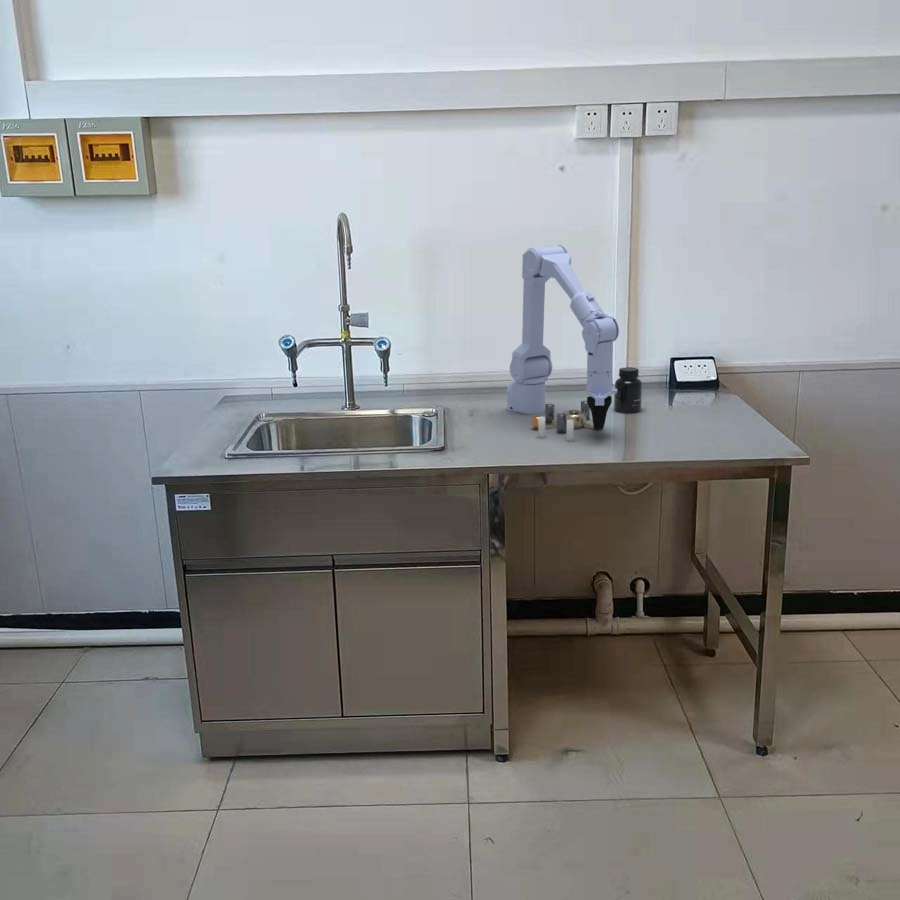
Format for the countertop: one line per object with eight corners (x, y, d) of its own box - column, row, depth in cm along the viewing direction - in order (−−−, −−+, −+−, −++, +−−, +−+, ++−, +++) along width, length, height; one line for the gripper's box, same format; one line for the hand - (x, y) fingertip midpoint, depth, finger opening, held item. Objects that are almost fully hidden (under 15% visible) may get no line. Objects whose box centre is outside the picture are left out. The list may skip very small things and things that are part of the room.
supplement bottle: (641, 418, 223) (642, 372, 219) (613, 418, 224) (614, 371, 220) (640, 411, 229) (642, 366, 225) (614, 410, 230) (615, 365, 227)
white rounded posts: (537, 438, 206) (537, 417, 205) (548, 431, 211) (549, 411, 209) (570, 443, 202) (570, 422, 200) (581, 436, 206) (582, 416, 205)
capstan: (529, 429, 212) (529, 411, 211) (558, 414, 225) (558, 397, 223) (588, 438, 204) (588, 419, 203) (615, 421, 216) (615, 404, 215)
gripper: (618, 377, 194) (617, 436, 198) (616, 363, 208) (615, 419, 212) (586, 377, 195) (585, 436, 199) (586, 363, 209) (585, 419, 213)
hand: (598, 427), depth 206 cm, fingers closed
